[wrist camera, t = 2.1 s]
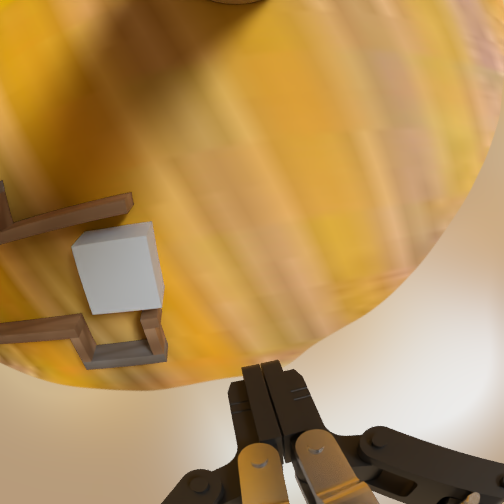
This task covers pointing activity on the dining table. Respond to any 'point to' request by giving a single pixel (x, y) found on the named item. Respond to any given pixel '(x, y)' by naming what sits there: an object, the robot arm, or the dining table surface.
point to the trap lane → (74, 325)
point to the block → (120, 268)
